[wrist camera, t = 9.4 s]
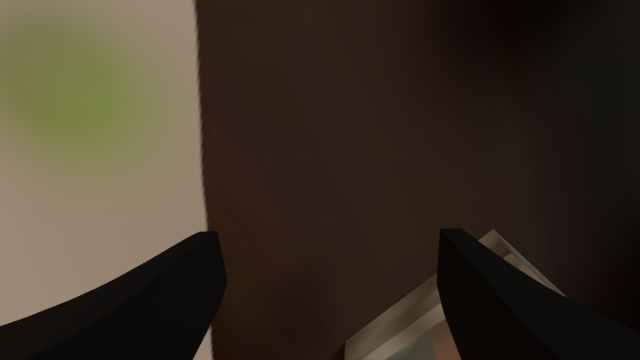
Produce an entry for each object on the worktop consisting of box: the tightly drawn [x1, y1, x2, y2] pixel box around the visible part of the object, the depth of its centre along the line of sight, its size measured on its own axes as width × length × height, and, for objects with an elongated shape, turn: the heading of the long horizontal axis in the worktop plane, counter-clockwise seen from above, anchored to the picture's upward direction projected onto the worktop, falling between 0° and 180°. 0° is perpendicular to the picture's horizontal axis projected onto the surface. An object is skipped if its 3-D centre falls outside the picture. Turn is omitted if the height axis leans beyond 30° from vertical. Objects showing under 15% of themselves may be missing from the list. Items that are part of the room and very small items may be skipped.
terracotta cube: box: [429, 318, 461, 360], centre depth 20 cm, size 5×5×5 cm
